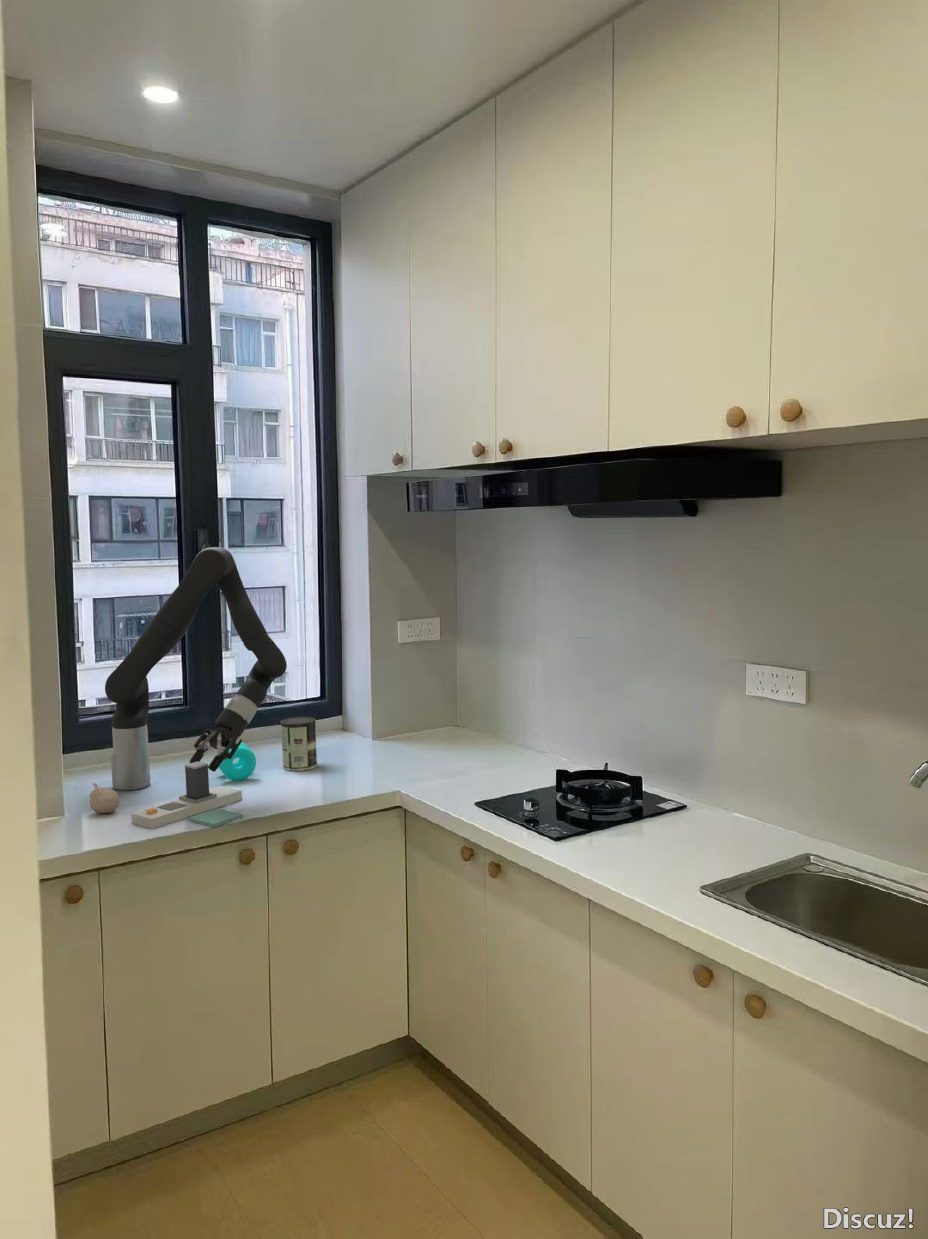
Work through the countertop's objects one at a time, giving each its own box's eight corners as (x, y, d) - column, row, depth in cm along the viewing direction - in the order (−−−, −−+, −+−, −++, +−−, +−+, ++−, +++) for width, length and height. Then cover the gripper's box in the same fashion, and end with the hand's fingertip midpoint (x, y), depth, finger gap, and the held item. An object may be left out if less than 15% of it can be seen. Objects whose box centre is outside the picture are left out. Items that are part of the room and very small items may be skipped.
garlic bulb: (110, 807, 243) (109, 777, 242) (124, 812, 239) (122, 781, 238) (86, 814, 238) (84, 783, 237) (100, 818, 234) (98, 787, 233)
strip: (152, 828, 226) (151, 815, 225) (131, 823, 230) (131, 810, 230) (242, 799, 248) (241, 787, 248) (221, 794, 253) (221, 783, 252)
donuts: (222, 784, 263) (220, 749, 262) (216, 775, 272) (214, 741, 271) (257, 779, 267) (256, 745, 266) (250, 771, 276) (249, 737, 275)
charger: (196, 801, 238) (195, 767, 238) (186, 799, 241) (184, 764, 240) (209, 797, 242) (208, 763, 241) (199, 795, 244) (197, 761, 243)
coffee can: (308, 760, 288) (306, 715, 286) (323, 767, 279) (321, 720, 278) (276, 765, 282) (274, 719, 280) (290, 773, 273) (289, 725, 272)
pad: (213, 827, 226) (213, 823, 226) (189, 820, 231) (189, 817, 231) (242, 817, 233) (242, 814, 233) (218, 811, 238) (218, 808, 238)
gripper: (212, 704, 251) (176, 755, 244) (244, 710, 242) (208, 763, 235) (229, 720, 256) (195, 770, 249) (262, 727, 247) (227, 779, 239)
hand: (201, 767), depth 242 cm, fingers open, 8 cm apart
